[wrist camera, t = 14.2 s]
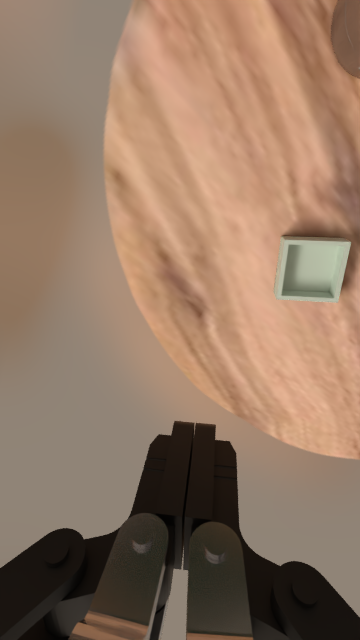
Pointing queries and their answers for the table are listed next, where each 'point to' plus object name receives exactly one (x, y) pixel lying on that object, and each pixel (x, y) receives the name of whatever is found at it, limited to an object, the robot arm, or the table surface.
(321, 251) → the box
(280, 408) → the table surface
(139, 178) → the table surface
